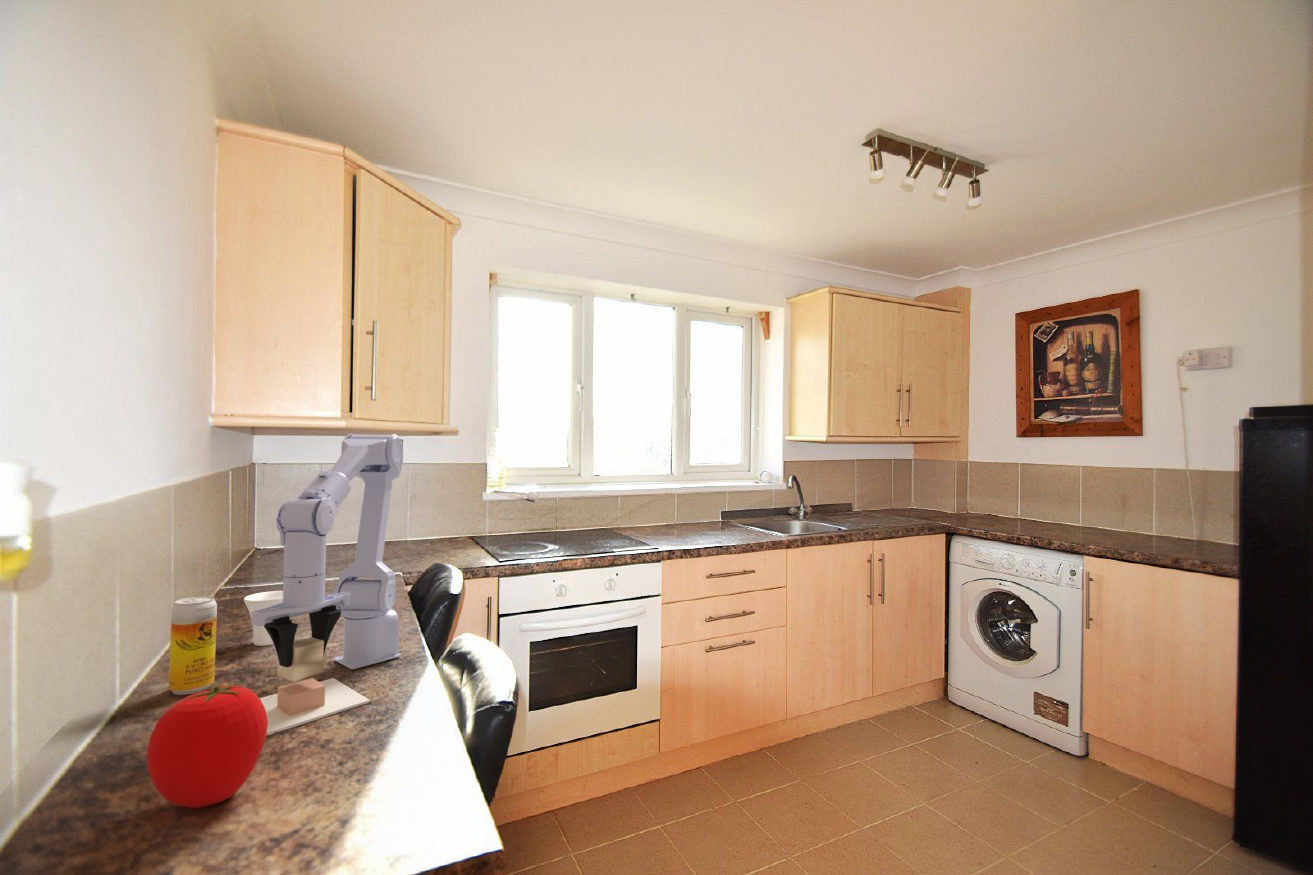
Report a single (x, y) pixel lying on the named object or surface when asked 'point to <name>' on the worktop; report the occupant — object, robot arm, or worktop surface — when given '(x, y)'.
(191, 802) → the tomato
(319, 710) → the build mat
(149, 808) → the worktop surface
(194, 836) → the worktop surface
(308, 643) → the maple block
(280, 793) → the worktop surface
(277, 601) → the cup
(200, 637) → the beer can
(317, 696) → the terracotta block
